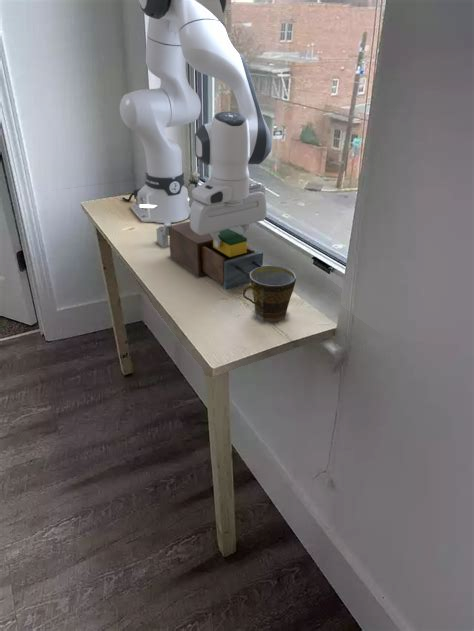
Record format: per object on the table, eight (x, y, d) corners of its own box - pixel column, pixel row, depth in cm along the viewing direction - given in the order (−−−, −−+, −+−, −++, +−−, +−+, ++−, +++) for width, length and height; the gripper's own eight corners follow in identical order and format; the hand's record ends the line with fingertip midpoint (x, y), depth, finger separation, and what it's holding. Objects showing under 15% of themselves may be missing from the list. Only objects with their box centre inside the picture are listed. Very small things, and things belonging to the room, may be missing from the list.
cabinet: (236, 265, 136) (237, 233, 132) (198, 276, 130) (197, 243, 126) (207, 247, 146) (206, 217, 142) (170, 257, 140) (168, 226, 136)
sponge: (229, 257, 122) (230, 242, 120) (212, 247, 127) (212, 232, 125) (246, 252, 124) (247, 238, 122) (229, 243, 129) (229, 228, 128)
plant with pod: (221, 237, 153) (221, 170, 143) (185, 242, 150) (182, 174, 140) (212, 228, 160) (212, 163, 150) (177, 232, 156) (175, 166, 146)
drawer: (276, 288, 123) (278, 260, 120) (240, 300, 118) (240, 271, 114) (231, 260, 137) (231, 235, 133) (196, 270, 131) (195, 244, 128)
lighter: (156, 242, 149) (155, 216, 145) (162, 241, 150) (160, 215, 146) (167, 251, 144) (166, 224, 140) (173, 249, 145) (171, 223, 141)
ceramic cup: (273, 300, 120) (275, 261, 115) (302, 318, 113) (306, 277, 108) (228, 316, 113) (229, 276, 108) (256, 336, 106) (258, 294, 101)
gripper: (257, 178, 125) (255, 231, 132) (185, 191, 115) (187, 248, 122) (273, 184, 121) (270, 239, 128) (200, 199, 110) (201, 257, 118)
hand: (229, 243), depth 125 cm, fingers closed on sponge, 5 cm apart
